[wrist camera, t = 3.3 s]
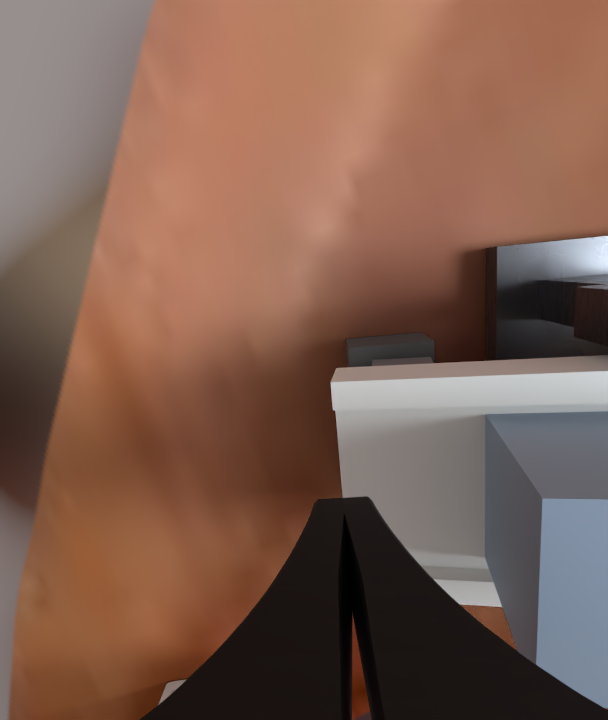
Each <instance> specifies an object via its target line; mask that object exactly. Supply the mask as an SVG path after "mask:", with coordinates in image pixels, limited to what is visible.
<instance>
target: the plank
mask: <svg viewBox="0 0 608 720" xmlns="http://www.w3.org/2000/svg"><path fill="white" fill-rule="evenodd" d="M330 383H331V394H332V406H333V410H335V412H336V424H337V436H338V448H339V460H340V472H341V484H342V496H343V498H348V497H364V496H368V497H369V498H370V499H371V500H372V501H373V503H374V505H375V506H376V508H377V510H378V511H379V513H380V514H381V516H382V517H383V519H384V520H385V522H386V523H387V525H388V526H389V527H390V529H391V530H392V532H393V533H394V534H395V536H396V537H397V538H398V539H399V540H400V542H401V543H402V544H403V545H404V547H405V548H406V549H407V550H408V552H409V553H410V554H411V555H412V556H413V558H414V559H415V560H416V561H417V562H418V563H419V564H420V565H421V566H422V568H423V569H424V570H425V571H426V572H427V573H428V574H429V575H430V576H431V577H432V578H433V579H434V580H435V581H436V582H437V583H438V584H439V585H440V586H441V587H442V588H443V589H444V590H445V591H446V592H447V593H448V594H449V595H450V596H451V597H452V598H453V599H454V600H455V601H456V602H457V603H458V604H462V605H478V606H493V607H502V605H501V602H500V599H499V596H498V594H497V591H496V588H495V585H494V582H493V579H492V576H491V573H490V571H489V568H488V565H487V562H486V559H485V414H512V413H556V412H599V411H608V355H599V356H578V357H557V358H536V359H515V360H494V361H472V362H451V363H434V362H433V361H432V359H431V357H417V358H398V359H378V360H372V366H367V367H346V368H336V370H335V373H334V375H333V377H332V380H331V382H330Z"/></svg>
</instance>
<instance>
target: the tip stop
mask: <svg viewBox="0 0 608 720" xmlns="http://www.w3.org/2000/svg"><path fill="white" fill-rule="evenodd" d="M346 347H347V360H348V367H367V366H372V360H378V359H398V358H417V357H431V359H432V361H433V362H434V363H435V345H434V340H432V339H431V338H429V337H428V336H426V335H425V334H423V333H422V332H418V333H407V334H395V335H384V336H372V337H361V338H349V339H346Z"/></svg>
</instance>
